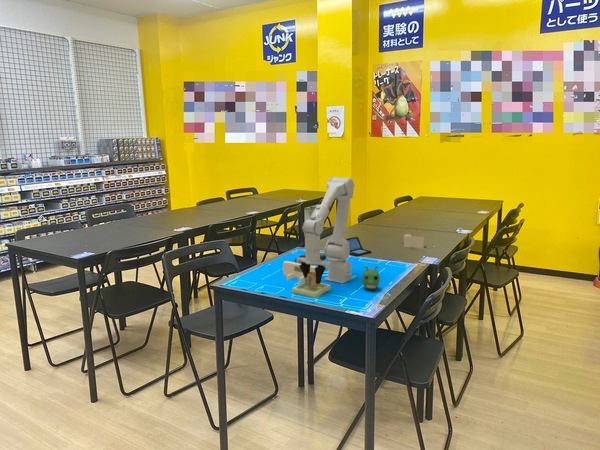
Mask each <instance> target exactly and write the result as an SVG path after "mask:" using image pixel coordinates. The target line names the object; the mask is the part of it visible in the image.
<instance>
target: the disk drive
mask: <svg viewBox="0 0 600 450" xmlns="http://www.w3.org/2000/svg"><path fill="white" fill-rule="evenodd" d="M298 257H303V258H306V253H303V254H301V255H299V256H297V257H295V259H294V261H295V262H294V263H296V258H298ZM320 260H323V261H325V260H327V257H326V256H325V254H324V253H321V252H320Z"/></svg>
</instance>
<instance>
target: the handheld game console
mask: <svg viewBox="0 0 600 450" xmlns="http://www.w3.org/2000/svg"><path fill="white" fill-rule="evenodd" d="M345 239H346V240H347V241H348V242H349V250H350V253H349V256H352V255H353V256H352V257H361V256H365V255H369V254H372V250H368V249H365V248H363V247H362V244H361V241H360V239H359V237H358V236H353V237H349V238H345Z"/></svg>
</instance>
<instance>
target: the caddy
mask: <svg viewBox="0 0 600 450" xmlns="http://www.w3.org/2000/svg"><path fill="white" fill-rule="evenodd" d="M304 282H305V285H306V286H308V287H318V286H319V284H316V272H308V273H307V277H306V278H305V281H304Z"/></svg>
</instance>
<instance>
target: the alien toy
mask: <svg viewBox="0 0 600 450" xmlns="http://www.w3.org/2000/svg"><path fill="white" fill-rule="evenodd" d="M364 268H365V269H366V270H365V271H364V272H363V274H362V279H361V281H362V285H363V286H364V287H365V288H366V289H367V290H375V289H377V288H378V286H379V284H380V281H381V277H380V274H379V272H378V271H377V269H379V266H378V265H375V266H374V268H375V269H374V268H369V265H365V266H364Z"/></svg>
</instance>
